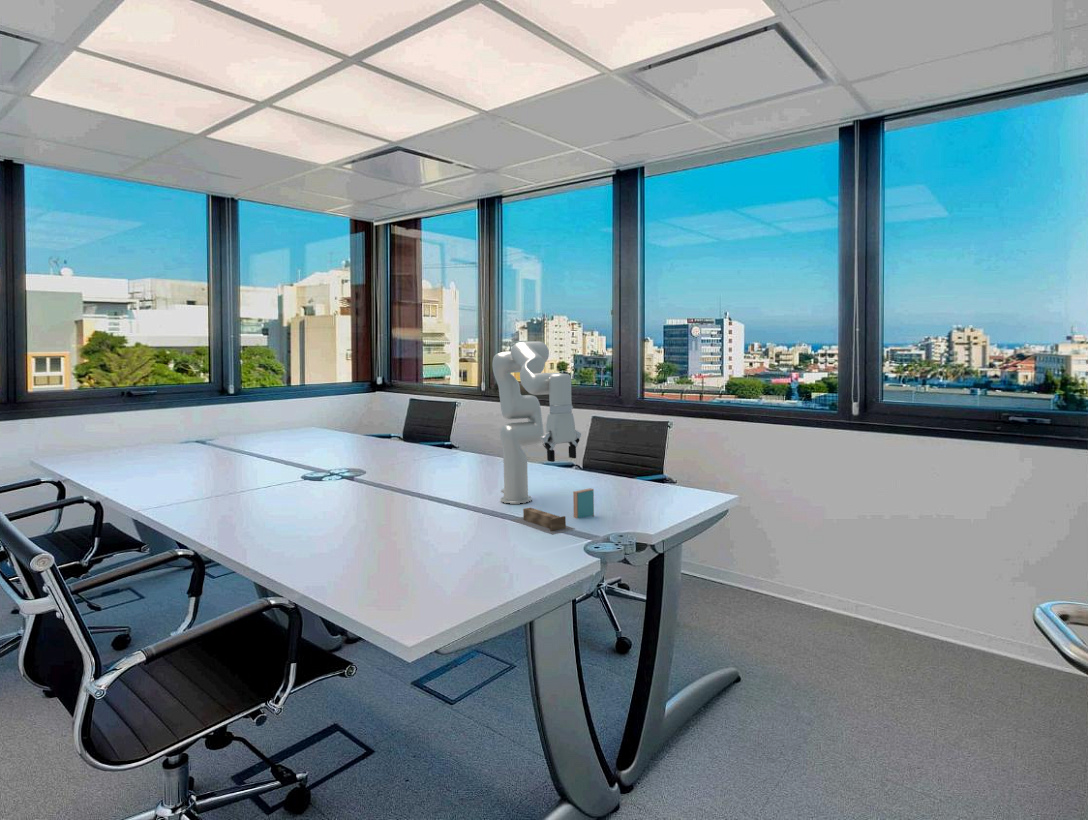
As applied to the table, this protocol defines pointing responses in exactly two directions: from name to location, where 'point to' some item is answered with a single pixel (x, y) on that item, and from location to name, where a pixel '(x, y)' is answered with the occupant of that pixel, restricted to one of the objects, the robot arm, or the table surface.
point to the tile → (583, 503)
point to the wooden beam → (544, 519)
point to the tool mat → (541, 528)
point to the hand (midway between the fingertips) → (561, 459)
